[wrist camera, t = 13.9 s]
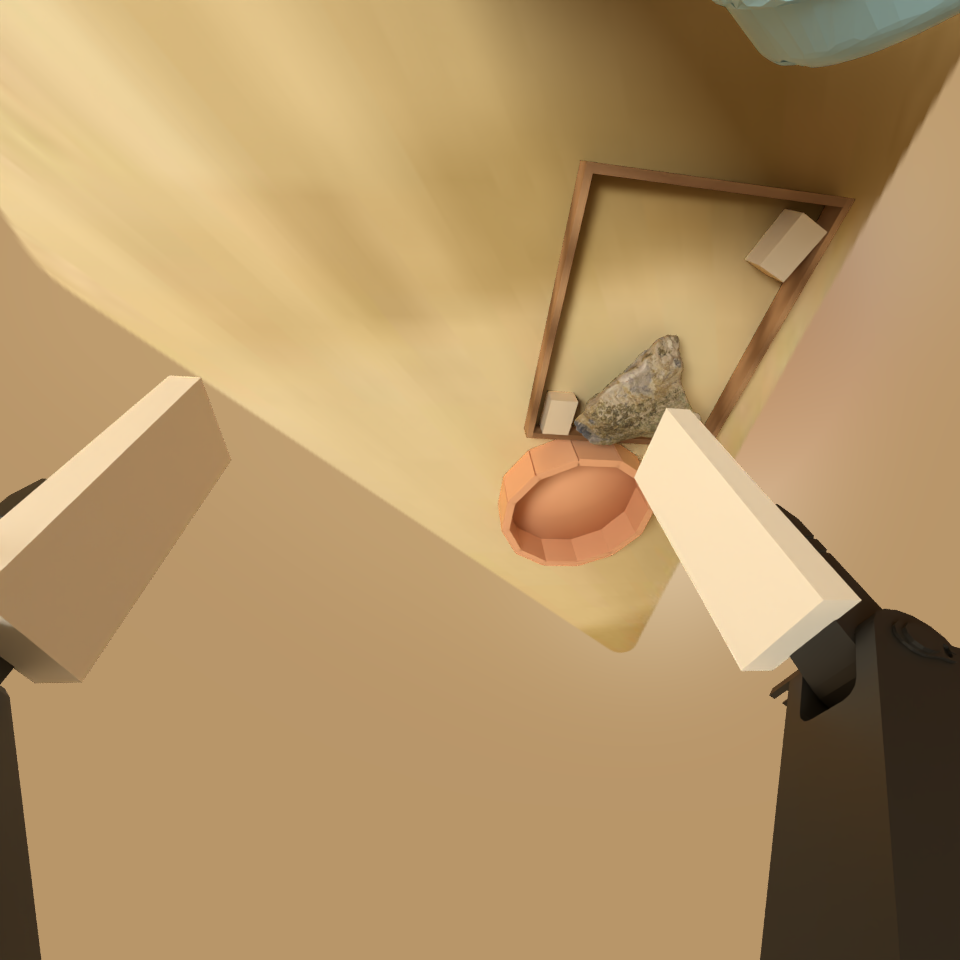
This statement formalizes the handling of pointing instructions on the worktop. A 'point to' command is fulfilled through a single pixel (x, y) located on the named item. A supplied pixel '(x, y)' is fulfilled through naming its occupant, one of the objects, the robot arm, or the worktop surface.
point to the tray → (767, 328)
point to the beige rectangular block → (785, 244)
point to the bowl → (572, 502)
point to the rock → (637, 397)
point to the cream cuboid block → (558, 412)
